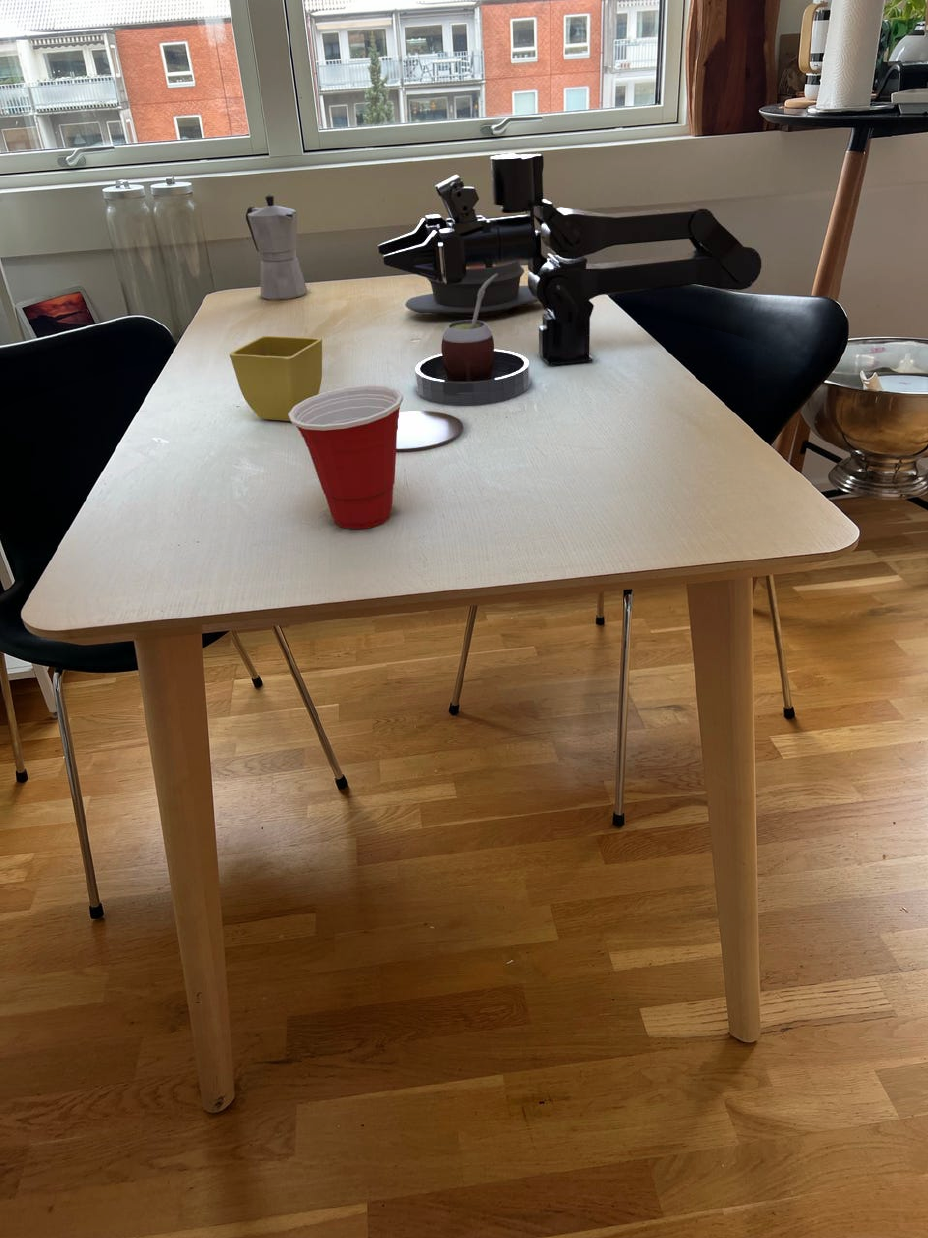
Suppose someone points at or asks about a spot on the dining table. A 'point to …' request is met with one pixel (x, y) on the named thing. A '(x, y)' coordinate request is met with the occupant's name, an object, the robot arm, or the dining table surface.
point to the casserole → (476, 292)
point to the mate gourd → (469, 347)
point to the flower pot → (278, 373)
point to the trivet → (426, 430)
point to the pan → (502, 386)
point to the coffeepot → (277, 250)
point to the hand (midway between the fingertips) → (380, 254)
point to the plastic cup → (353, 450)
